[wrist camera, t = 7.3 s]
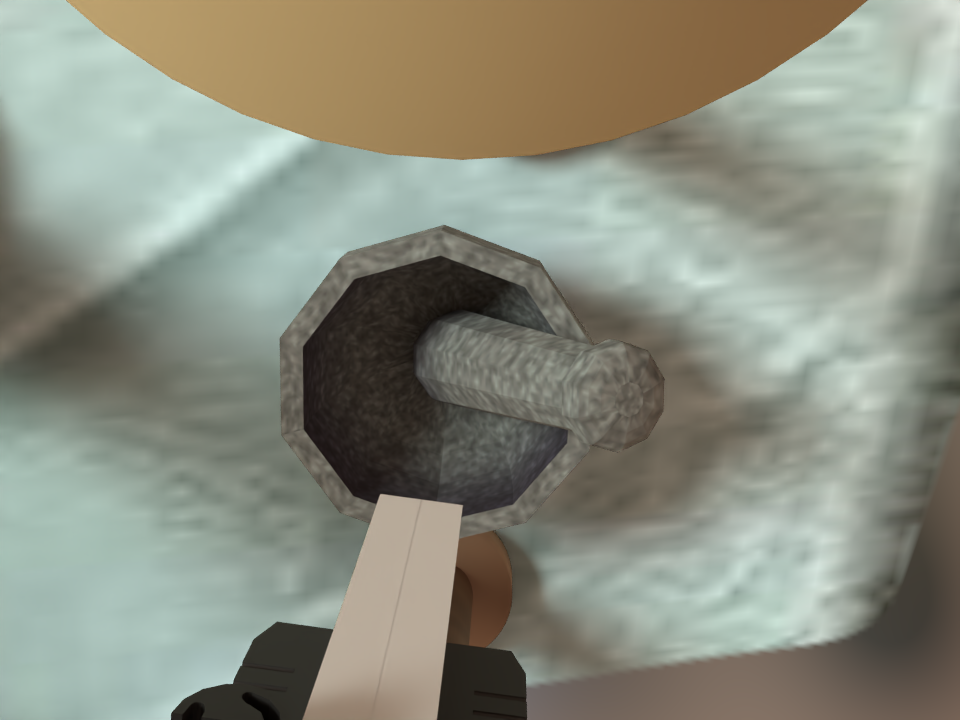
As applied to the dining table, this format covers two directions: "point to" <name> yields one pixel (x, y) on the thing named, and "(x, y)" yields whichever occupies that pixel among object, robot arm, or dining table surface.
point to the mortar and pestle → (453, 381)
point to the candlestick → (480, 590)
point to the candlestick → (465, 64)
